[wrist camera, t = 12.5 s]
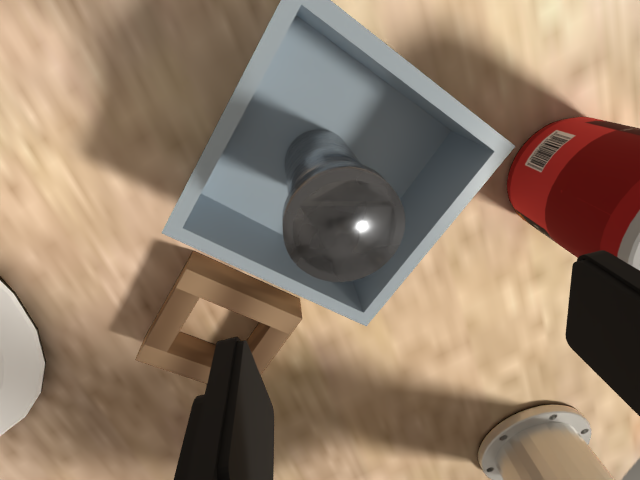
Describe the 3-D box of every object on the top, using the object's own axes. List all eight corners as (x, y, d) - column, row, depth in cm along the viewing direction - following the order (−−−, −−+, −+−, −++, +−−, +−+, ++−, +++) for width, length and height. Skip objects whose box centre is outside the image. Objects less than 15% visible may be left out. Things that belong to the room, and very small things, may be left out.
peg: (349, 113, 23) (397, 155, 15) (363, 190, 26) (410, 266, 17) (268, 134, 23) (267, 188, 15) (289, 208, 26) (299, 294, 17)
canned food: (496, 226, 29) (608, 316, 20) (512, 120, 25) (660, 166, 16) (589, 214, 30) (744, 296, 20) (618, 108, 26) (826, 146, 16)
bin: (464, 125, 25) (515, 146, 20) (349, 276, 30) (366, 326, 24) (288, -9, 21) (295, -28, 15) (184, 193, 25) (161, 233, 20)
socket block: (299, 298, 30) (302, 318, 28) (246, 372, 33) (244, 396, 31) (193, 250, 27) (186, 269, 25) (145, 336, 30) (135, 360, 28)
